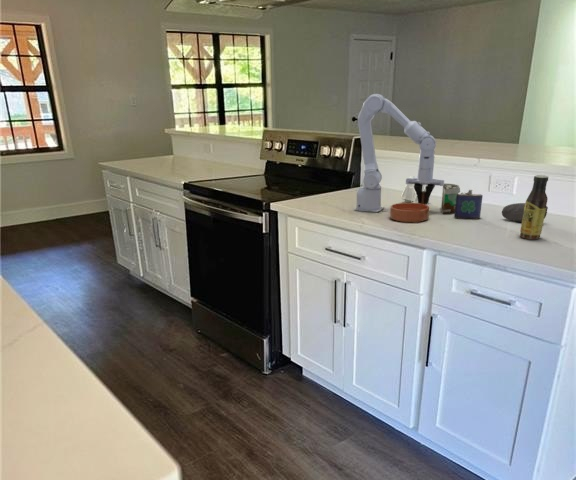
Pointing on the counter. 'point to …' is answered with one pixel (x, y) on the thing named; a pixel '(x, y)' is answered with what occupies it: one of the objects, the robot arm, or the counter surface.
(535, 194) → the sauce bottle
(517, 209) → the perforated stone tool
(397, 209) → the bowl
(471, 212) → the flask
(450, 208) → the food container
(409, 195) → the shaker set
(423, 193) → the stick
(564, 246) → the counter surface
